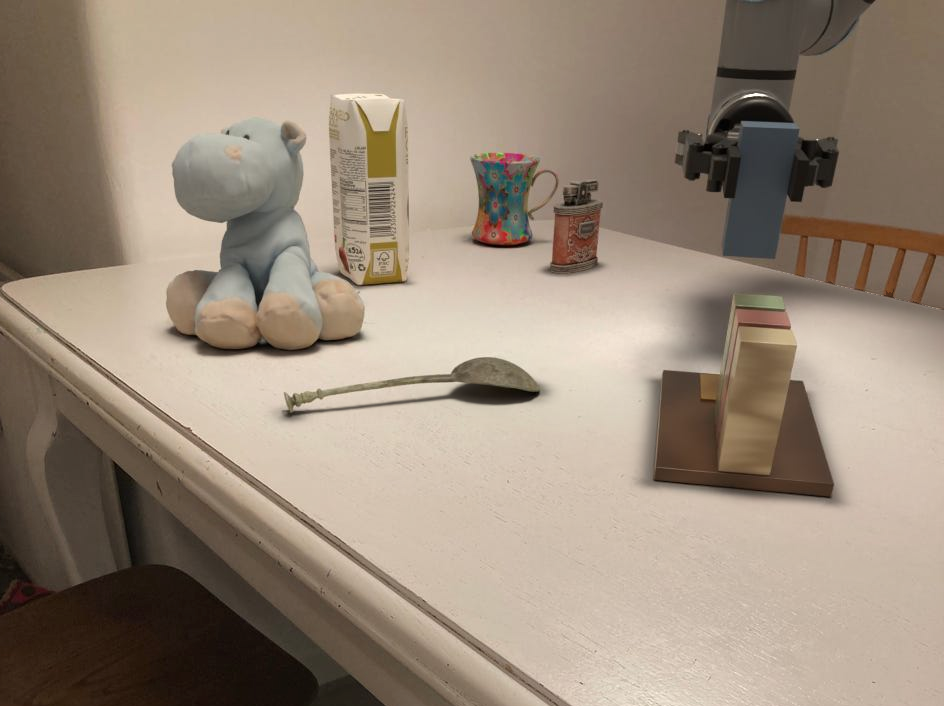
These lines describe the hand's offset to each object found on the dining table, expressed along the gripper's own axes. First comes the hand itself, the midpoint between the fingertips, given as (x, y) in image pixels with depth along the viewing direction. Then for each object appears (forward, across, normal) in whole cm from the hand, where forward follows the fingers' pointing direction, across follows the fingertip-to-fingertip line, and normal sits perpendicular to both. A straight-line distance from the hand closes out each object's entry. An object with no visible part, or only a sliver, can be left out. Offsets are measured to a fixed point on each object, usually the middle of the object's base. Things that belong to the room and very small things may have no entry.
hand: (766, 179), depth 69 cm
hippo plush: (-16, +45, -18) cm, 51 cm away
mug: (-62, +28, -18) cm, 70 cm away
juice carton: (-37, +40, -18) cm, 58 cm away
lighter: (-49, +18, -18) cm, 55 cm away
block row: (+4, -1, -18) cm, 18 cm away
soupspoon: (+3, +25, -18) cm, 31 cm away
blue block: (-5, 0, -6) cm, 8 cm away
